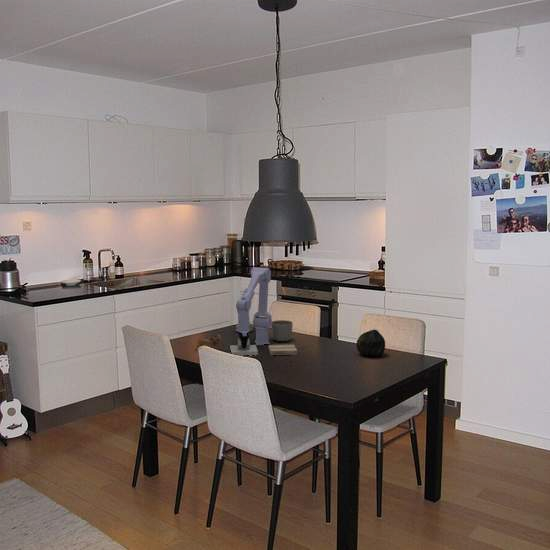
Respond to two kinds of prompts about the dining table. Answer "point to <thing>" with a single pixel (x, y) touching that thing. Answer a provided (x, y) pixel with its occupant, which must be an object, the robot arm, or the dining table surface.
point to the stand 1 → (249, 352)
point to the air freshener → (249, 327)
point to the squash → (371, 343)
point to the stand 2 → (283, 349)
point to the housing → (241, 345)
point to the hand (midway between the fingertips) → (243, 346)
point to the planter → (281, 330)
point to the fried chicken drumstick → (210, 341)
